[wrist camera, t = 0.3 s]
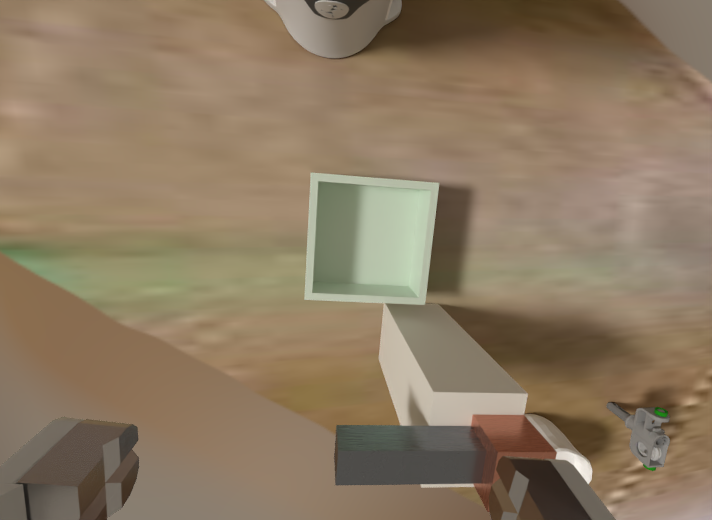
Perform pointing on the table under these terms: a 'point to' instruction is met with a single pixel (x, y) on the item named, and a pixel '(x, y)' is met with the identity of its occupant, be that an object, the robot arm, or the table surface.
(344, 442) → the grey long block
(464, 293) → the table surface
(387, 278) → the green bin
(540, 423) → the cup
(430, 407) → the cream block
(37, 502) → the robot arm
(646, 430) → the mechanical component
